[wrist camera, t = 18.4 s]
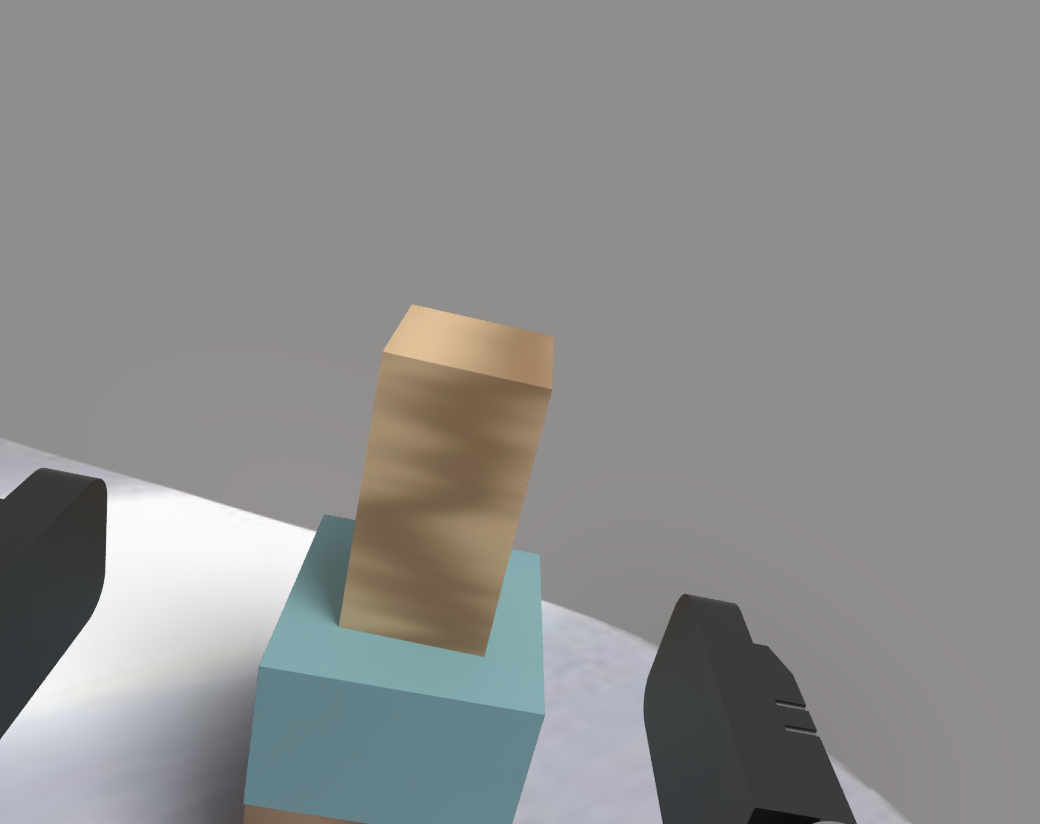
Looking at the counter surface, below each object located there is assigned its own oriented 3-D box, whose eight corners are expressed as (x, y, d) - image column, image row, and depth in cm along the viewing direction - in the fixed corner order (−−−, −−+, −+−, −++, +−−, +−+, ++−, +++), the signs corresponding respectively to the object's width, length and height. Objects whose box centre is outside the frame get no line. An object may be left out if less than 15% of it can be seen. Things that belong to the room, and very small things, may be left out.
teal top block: (243, 804, 27) (259, 666, 25) (307, 630, 36) (324, 514, 33) (505, 845, 28) (545, 714, 26) (509, 665, 36) (539, 554, 34)
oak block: (338, 626, 27) (382, 351, 24) (370, 546, 32) (412, 304, 28) (484, 657, 28) (552, 389, 24) (495, 572, 32) (553, 336, 28)
